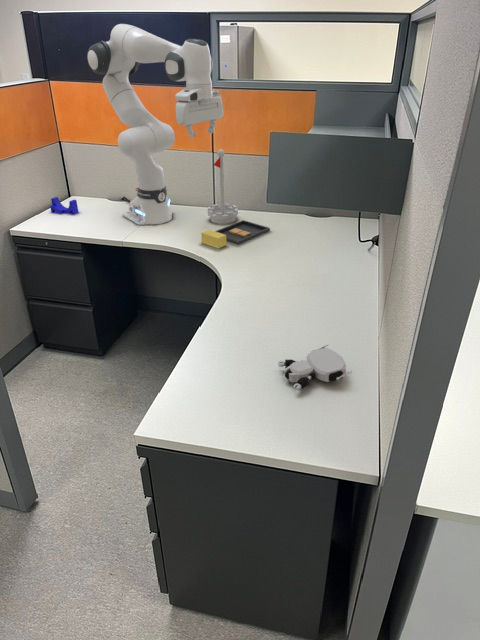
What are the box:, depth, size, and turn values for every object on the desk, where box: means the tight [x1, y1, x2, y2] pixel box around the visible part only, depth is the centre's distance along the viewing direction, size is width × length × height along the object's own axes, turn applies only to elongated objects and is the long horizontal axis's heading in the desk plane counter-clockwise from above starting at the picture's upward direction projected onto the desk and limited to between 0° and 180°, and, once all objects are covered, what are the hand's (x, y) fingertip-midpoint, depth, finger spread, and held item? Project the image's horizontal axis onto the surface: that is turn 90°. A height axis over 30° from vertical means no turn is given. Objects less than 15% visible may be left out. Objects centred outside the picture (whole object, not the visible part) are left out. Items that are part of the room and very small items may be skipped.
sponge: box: [200, 229, 227, 250], centre depth 192 cm, size 9×4×5 cm, turn 48°
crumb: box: [237, 231, 251, 237], centre depth 201 cm, size 4×4×1 cm
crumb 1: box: [229, 228, 243, 235], centre depth 203 cm, size 4×4×1 cm
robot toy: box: [277, 343, 353, 391], centre depth 121 cm, size 12×4×15 cm
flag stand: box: [207, 148, 239, 225], centre depth 209 cm, size 13×13×30 cm
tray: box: [215, 219, 271, 246], centre depth 202 cm, size 15×20×2 cm
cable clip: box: [49, 196, 79, 216], centre depth 227 cm, size 12×4×6 cm, turn 66°
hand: (201, 135), depth 179 cm, fingers open, 8 cm apart
